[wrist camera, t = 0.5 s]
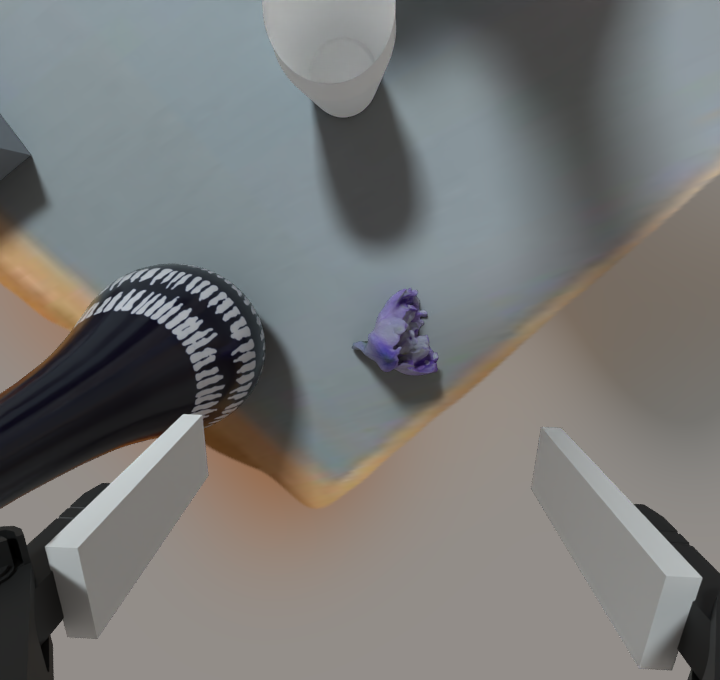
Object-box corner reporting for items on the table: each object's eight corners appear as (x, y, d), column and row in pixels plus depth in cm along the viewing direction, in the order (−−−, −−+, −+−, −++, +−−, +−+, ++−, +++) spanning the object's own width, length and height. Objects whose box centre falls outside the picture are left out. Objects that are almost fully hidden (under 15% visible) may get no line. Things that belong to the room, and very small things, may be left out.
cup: (400, 116, 37) (412, 63, 26) (311, 143, 38) (283, 104, 27) (378, 8, 35) (379, -102, 24) (283, 40, 36) (240, -52, 24)
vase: (161, 402, 46) (-177, 669, 18) (122, 268, 42) (-394, 342, 14) (291, 388, 45) (150, 648, 17) (264, 249, 41) (18, 286, 13)
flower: (352, 410, 39) (429, 371, 33) (317, 334, 40) (385, 283, 34) (401, 390, 46) (472, 354, 40) (370, 326, 47) (434, 282, 41)
